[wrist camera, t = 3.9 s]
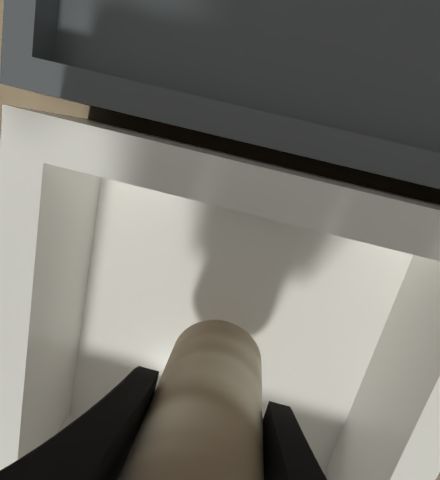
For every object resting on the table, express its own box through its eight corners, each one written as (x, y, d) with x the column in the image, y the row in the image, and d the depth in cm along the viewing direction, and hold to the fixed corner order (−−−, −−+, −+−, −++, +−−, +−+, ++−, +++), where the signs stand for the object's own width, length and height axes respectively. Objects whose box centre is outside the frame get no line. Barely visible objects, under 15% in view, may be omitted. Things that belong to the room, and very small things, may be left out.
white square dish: (52, 415, 17) (-19, 507, 13) (86, 119, 13) (2, 104, 9) (334, 494, 16) (362, 618, 12) (456, 208, 12) (561, 240, 8)
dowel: (165, 385, 13) (28, 738, 5) (181, 309, 12) (48, 598, 4) (248, 408, 13) (236, 804, 5) (271, 333, 12) (299, 673, 4)
